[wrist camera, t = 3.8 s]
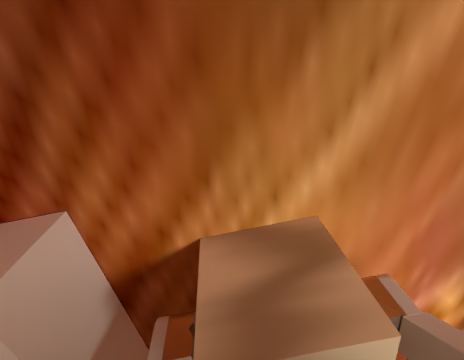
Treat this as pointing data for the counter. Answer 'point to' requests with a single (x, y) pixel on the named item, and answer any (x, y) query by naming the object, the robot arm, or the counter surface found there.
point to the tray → (58, 297)
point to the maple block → (286, 299)
